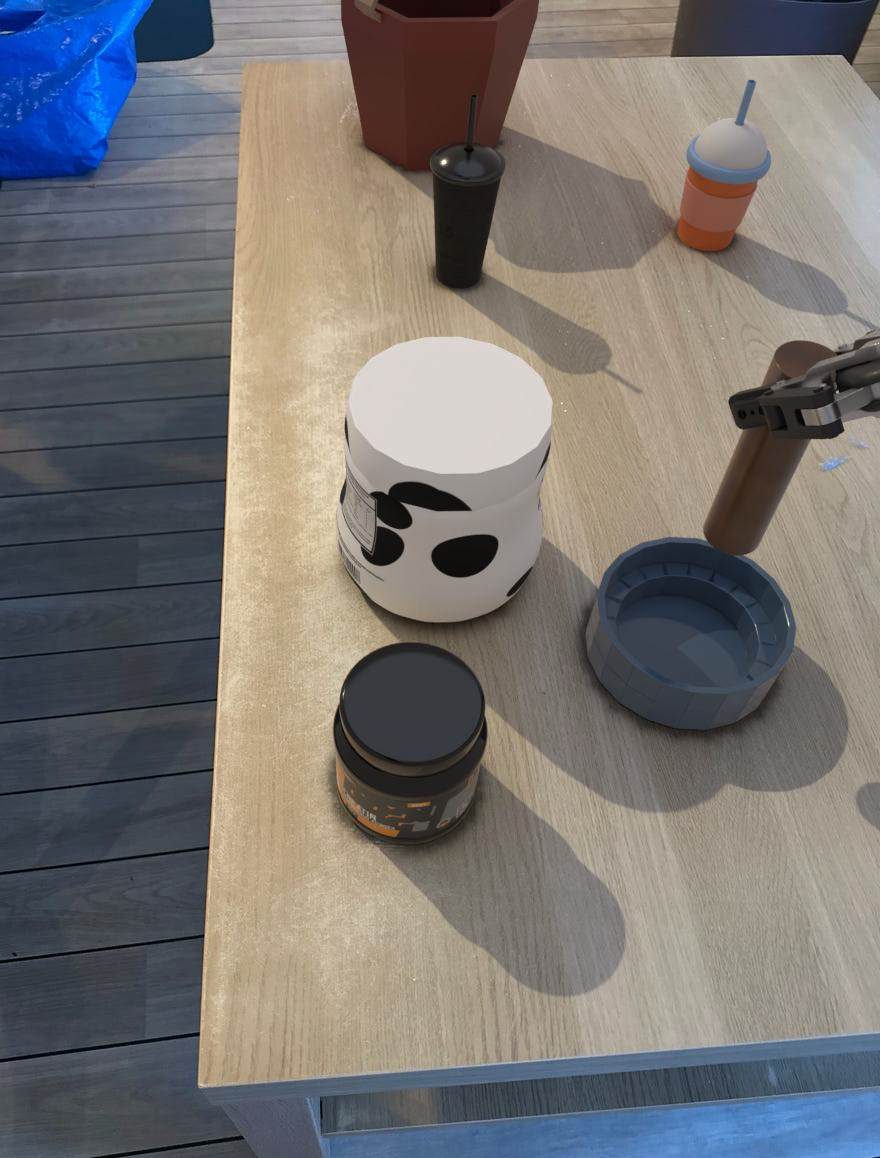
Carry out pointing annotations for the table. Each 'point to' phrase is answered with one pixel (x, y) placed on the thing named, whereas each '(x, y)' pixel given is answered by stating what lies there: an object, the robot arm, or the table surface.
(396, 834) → the supplement container
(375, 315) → the table surface
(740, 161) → the cup with straw
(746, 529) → the brown cylinder
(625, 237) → the table surface
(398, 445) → the milk container
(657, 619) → the bowl
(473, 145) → the drinking cup
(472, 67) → the bucket
